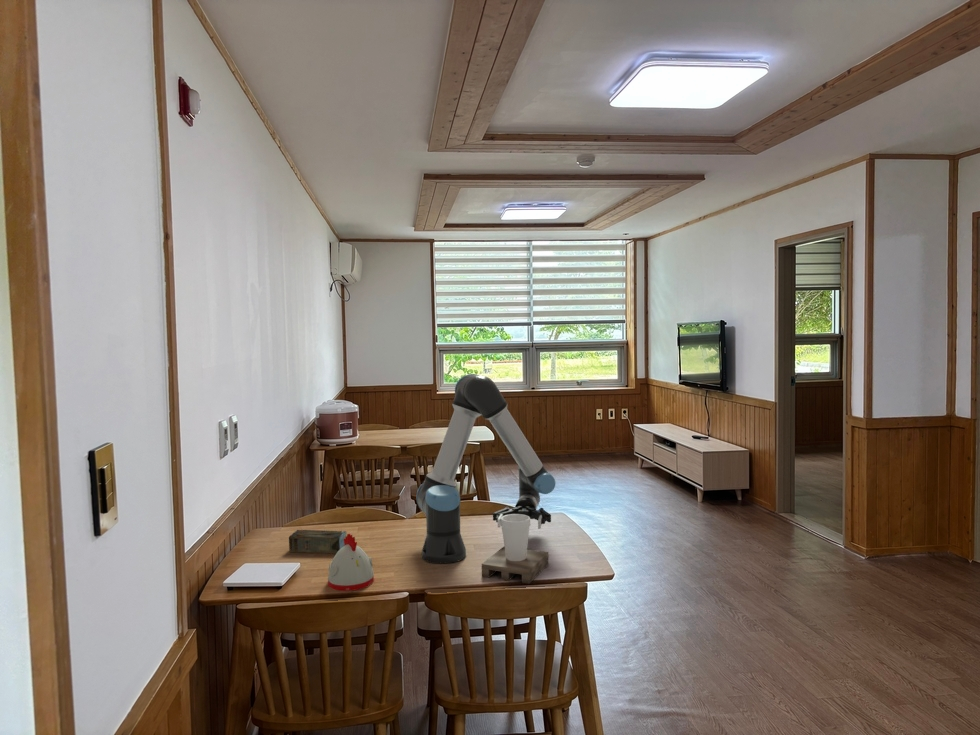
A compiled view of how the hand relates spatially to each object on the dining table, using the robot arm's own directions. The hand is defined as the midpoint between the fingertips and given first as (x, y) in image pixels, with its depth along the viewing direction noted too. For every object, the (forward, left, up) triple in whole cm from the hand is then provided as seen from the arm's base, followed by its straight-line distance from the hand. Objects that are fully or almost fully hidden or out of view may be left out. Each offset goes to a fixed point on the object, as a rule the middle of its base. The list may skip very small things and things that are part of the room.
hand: (518, 524), depth 210 cm
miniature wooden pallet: (-7, -2, -13) cm, 15 cm away
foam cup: (-7, -2, -9) cm, 12 cm away
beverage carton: (-15, +72, -13) cm, 75 cm away
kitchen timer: (-35, +42, -13) cm, 57 cm away
